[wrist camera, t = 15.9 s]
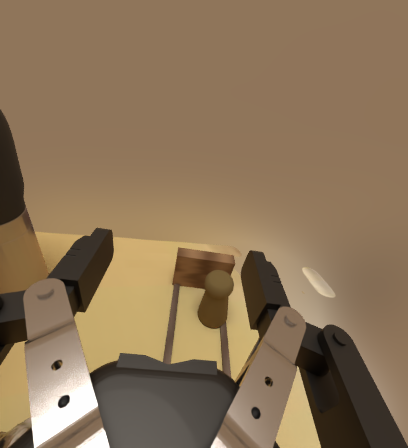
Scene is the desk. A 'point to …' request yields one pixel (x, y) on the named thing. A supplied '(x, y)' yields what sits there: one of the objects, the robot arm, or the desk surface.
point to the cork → (215, 299)
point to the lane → (195, 277)
